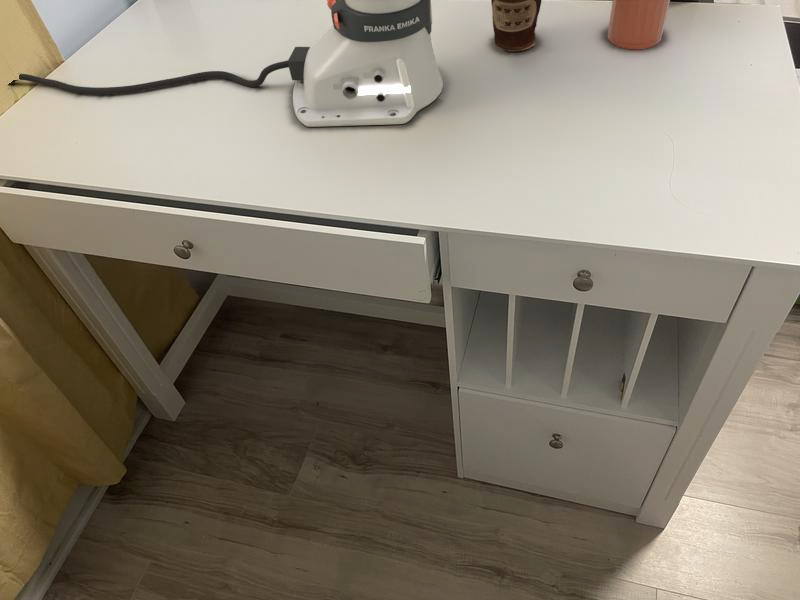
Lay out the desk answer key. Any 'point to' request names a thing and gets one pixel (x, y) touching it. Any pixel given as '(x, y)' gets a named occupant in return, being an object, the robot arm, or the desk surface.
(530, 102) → the desk surface
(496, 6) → the coffee cup
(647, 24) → the pen cup
